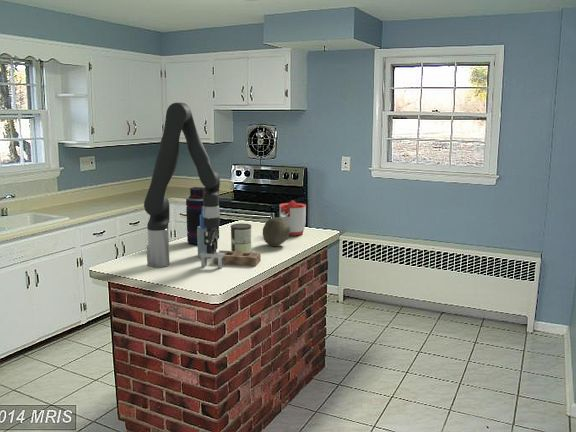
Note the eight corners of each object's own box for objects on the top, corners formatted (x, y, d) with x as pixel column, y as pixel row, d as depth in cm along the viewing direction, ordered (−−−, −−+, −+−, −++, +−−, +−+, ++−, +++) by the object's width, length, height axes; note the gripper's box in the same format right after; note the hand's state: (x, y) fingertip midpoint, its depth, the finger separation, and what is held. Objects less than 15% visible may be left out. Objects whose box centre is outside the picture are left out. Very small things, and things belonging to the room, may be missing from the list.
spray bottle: (219, 254, 272) (218, 204, 267) (210, 259, 264) (209, 207, 259) (203, 252, 275) (202, 203, 270) (194, 257, 267) (192, 206, 262)
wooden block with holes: (214, 263, 256) (214, 255, 255) (220, 258, 265) (220, 250, 264) (255, 266, 252) (255, 257, 251) (260, 260, 261) (260, 252, 260)
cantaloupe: (268, 250, 281) (268, 221, 278) (259, 243, 294) (258, 216, 291) (293, 247, 287) (294, 219, 284) (283, 241, 299) (283, 214, 296)
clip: (200, 267, 250) (199, 242, 248) (202, 265, 253) (201, 241, 251) (223, 268, 248) (222, 243, 246) (225, 266, 251) (224, 242, 249)
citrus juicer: (271, 235, 314) (271, 200, 310) (289, 229, 328) (289, 196, 324) (294, 239, 305) (294, 203, 301) (311, 233, 319) (311, 199, 315)
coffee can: (226, 253, 274) (226, 225, 272) (240, 249, 282) (239, 222, 280) (242, 256, 268) (242, 228, 266) (255, 252, 277) (255, 225, 274)
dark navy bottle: (203, 246, 288) (201, 189, 282) (183, 244, 292) (181, 188, 286) (215, 240, 301) (213, 186, 295) (195, 238, 304) (194, 185, 299)
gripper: (208, 212, 254) (209, 246, 257) (197, 218, 240) (198, 254, 243) (224, 213, 252) (224, 247, 255) (214, 219, 238) (215, 255, 241)
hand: (212, 251), depth 249 cm, fingers open, 7 cm apart
